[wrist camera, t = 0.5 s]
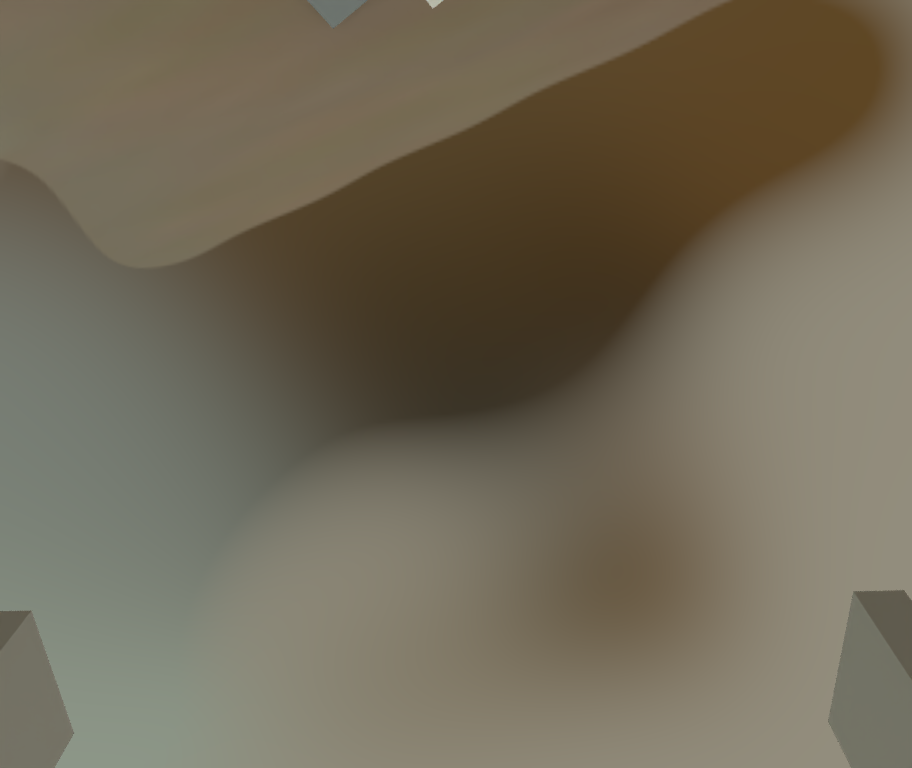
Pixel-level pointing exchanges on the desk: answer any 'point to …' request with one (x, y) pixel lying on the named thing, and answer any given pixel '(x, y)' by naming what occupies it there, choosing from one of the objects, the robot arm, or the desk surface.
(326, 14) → the card
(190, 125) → the desk surface
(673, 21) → the desk surface
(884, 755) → the robot arm
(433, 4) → the hinged panel
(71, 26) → the desk surface
